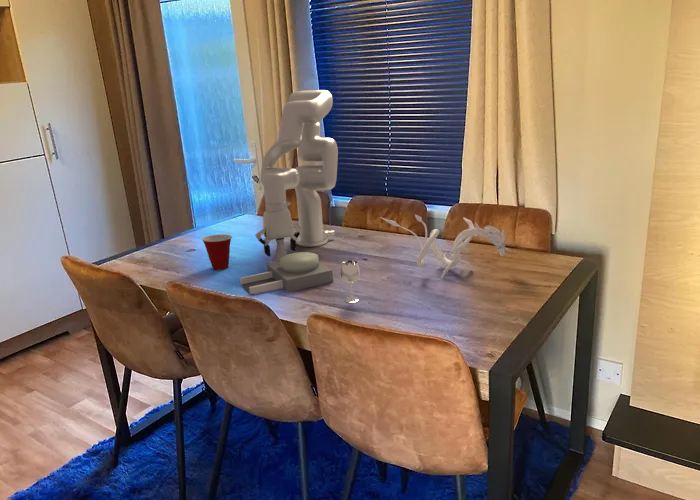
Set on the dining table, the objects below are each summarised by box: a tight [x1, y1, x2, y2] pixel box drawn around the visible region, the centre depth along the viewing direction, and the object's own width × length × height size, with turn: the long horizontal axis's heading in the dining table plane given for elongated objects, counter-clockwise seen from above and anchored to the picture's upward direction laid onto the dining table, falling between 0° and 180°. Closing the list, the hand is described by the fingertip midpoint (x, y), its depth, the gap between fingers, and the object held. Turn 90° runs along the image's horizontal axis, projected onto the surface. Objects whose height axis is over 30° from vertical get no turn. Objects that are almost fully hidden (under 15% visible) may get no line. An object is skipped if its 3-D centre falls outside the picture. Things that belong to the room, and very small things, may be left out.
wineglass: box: [340, 259, 361, 304], centre depth 174 cm, size 6×6×12 cm
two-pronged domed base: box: [239, 251, 334, 296], centre depth 194 cm, size 27×20×7 cm
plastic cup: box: [201, 233, 233, 271], centre depth 211 cm, size 11×11×12 cm
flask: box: [273, 238, 289, 262], centre depth 210 cm, size 7×7×10 cm
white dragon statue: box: [379, 213, 512, 279], centre depth 188 cm, size 43×20×25 cm, turn 65°
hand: (280, 252), depth 210 cm, fingers open, 9 cm apart
